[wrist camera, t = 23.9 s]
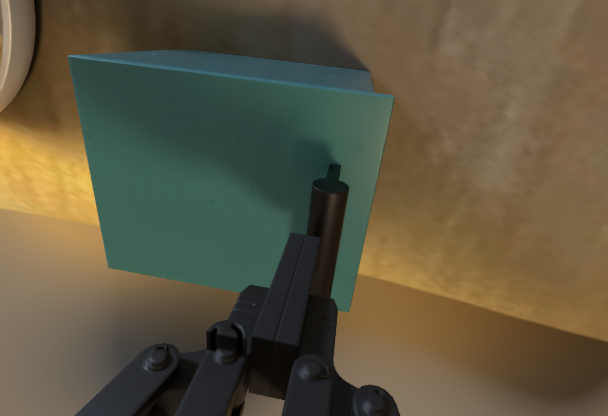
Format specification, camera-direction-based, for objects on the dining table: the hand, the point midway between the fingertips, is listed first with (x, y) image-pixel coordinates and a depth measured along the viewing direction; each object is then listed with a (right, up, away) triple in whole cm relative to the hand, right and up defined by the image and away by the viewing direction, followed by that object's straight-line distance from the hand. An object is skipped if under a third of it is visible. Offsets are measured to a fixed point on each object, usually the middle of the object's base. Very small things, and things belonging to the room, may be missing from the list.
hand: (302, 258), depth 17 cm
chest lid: (-5, +3, +6) cm, 8 cm away
